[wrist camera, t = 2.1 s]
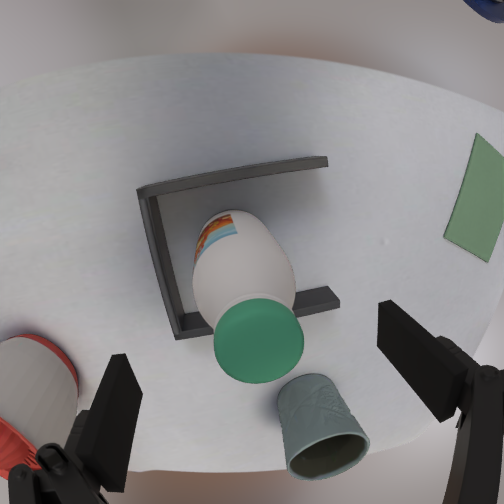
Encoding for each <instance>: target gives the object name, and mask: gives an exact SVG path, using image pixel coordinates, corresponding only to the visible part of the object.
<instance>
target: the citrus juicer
mask: <svg viewBox="0 0 504 504" xmlns="http://www.w3.org/2000/svg"><path fill="white" fill-rule="evenodd" d="M77 401H78V380H77V375H76V372H75V369H74V367H73V365H72V364H71V362H70V360H69V359H68V358H67V356H66V355H65V354H64V353H63V352H62V351H61V350H60V349H59V348H58V347H57V346H55V345H54V344H53V343H52V342H50V341H48V340H46V339H45V338H42V337H40V336H37V335H33V334H22V335H18V336H15V337H11V338H9V339H7V340H6V341H3V342H1V343H0V476H1V477H3V478H5V479H6V480H8V475H9V472H10V470H11V469H12V468H13V467H14V466H15V465H17V464H22V463H24V464H27V465H28V466H29V467H30V468H31V469H32V470H33V471H34V470H40V469H42V468H41V467H40V465H39V464H38V463H37V462H36V460H35V455H36V452H37V451H38V449H39V448H40V447H41V446H43V445H44V444H47V443H57V444H59V445H60V446H61V447H62V448H63V449H64V446H65V444H66V441H67V438H68V436H69V434H70V431H71V428H72V427H73V423H74V421H75V418H76V412H77Z"/></svg>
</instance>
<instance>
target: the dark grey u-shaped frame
mask: <svg viewBox="0 0 504 504" xmlns="http://www.w3.org/2000/svg"><path fill="white" fill-rule="evenodd" d="M322 167H328V160H327V156H313V157H305V158H297V159H289V160H282V161H275V162H268V163H261V164H255V165H249V166H242V167H236V168H231V169H225V170H219V171H214V172H208V173H203V174H198V175H193V176H188V177H183V178H178V179H173V180H168V181H164V182H159V183H154V184H150V185H146V186H143V187H141V188H138V189H136V191H137V196H138V200H139V205H140V210H141V214H142V219H143V223H144V227H145V232H146V236H147V240H148V244H149V248H150V252H151V256H152V260H153V264H154V268H155V272H156V276H157V279H158V283H159V287H160V290H161V294H162V297H163V301H164V304H165V308H166V311H167V315H168V318H169V321H170V324H171V328H172V331H173V334H174V337H175V340H181V339H188V338H194V337H200V336H206V335H212V334H214V329H213V328H212V327H211V326H210V325H209V324H208V323H207V322H206V321H205V319H204V318H203V317H202V315H201V313H200V312H194V313H188V314H184V310H183V307H182V303H181V299H180V296H179V292H178V288H177V284H176V280H175V276H174V272H173V268H172V264H171V260H170V256H169V252H168V247H167V243H166V239H165V234H164V230H163V225H162V221H161V216H160V211H159V207H158V202H157V197H156V196H158V195H162V194H167V193H172V192H177V191H182V190H186V189H192V188H197V187H202V186H207V185H212V184H218V183H223V182H229V181H235V180H241V179H246V178H253V177H259V176H265V175H271V174H278V173H285V172H292V171H299V170H306V169H314V168H322ZM336 308H340V300H339V298H338V297H337V296H336V295H335V294H334V293H333V291H332V290H331V289H330V288H329V287H328V286H325V287H321V288H316V289H312V290H307V291H302V292H298V293H295V299H294V304H293V307H292V311H293V312H294V315H295V317H296V318H298V317H302V316H307V315H311V314H315V313H320V312H324V311H328V310H332V309H336Z"/></svg>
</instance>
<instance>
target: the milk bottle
mask: <svg viewBox="0 0 504 504" xmlns="http://www.w3.org/2000/svg"><path fill="white" fill-rule="evenodd" d="M192 286H193V294H194V299H195V302H196V305H197V307H198V310H199V312H200V313H201V315H202V317H203V318H204V319H205V321H206V322H207V323H208V324H209V325H210V326H211V327H212V328H213V329H214V351H215V356H216V359H217V361H218V363H219V365H220V366H221V368H222V369H223V370H224V371H225V372H226V373H227V374H228V375H229V376H231V377H232V378H234V379H236V380H239V381H242V382H245V383H254V384H258V383H266V382H270V381H274V380H276V379H278V378H280V377H282V376H284V375H286V374H287V373H288V372H290V371H291V370H292V369H293V368H294V367H295V366H296V364H297V363H298V361H299V360H300V358H301V356H302V353H303V349H304V335H303V331H302V329H301V326H300V324H299V322H298V320H297V318H296V317H295V315H294V312H293V311H292V307H293V304H294V299H295V292H296V286H295V277H294V273H293V269H292V266H291V264H290V262H289V260H288V258H287V256H286V254H285V253H284V251H283V250H282V248H281V247H280V245H279V244H278V243H277V241H276V240H275V238H274V237H273V236H272V234H271V233H270V232H269V230H268V229H267V228H266V227H265V225H264V224H263V223H262V222H261V221H260V220H259V219H258V218H257V217H255V216H254V215H252V214H250V213H248V212H245V211H240V210H229V211H224V212H221V213H219V214H217V215H215V216H213V217H212V218H211V219H210V220H208V221H207V223H206V224H205V225H204V226H203V228H202V230H201V232H200V234H199V237H198V241H197V247H196V253H195V260H194V267H193V284H192Z"/></svg>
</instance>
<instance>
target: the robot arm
mask: <svg viewBox="0 0 504 504" xmlns="http://www.w3.org/2000/svg"><path fill="white" fill-rule="evenodd" d="M490 1H492V2H495V3H503V2H504V0H490ZM377 347H378V348H379V349H380V350H381V351H382V353H383V354H384V355H385V356H386V357H387V359H388V360H389V361H390V362H391V363H392V365H393V366H394V367H395V368H396V369H397V371H398V372H399V373H400V374H401V375H402V377H403V378H404V379H405V380H406V382H407V383H408V384H409V385H410V386H411V388H412V389H413V390H414V391H415V393H416V394H417V395H418V396H419V398H420V399H421V400H422V401H423V402H424V404H425V405H426V406H427V407H428V409H429V410H430V411H431V412H432V414H433V415H434V416H435V417H436V419H437V420H438V421H439V422H440V423H441V422H443V421H445V420H447V419H449V418H451V417H453V416H454V414H455V411H456V408H457V407H458V408H459V409H460V410H461V411H462V412H461V415H460V417H459V420H458V422H457V425H456V428H458V433H457V440H456V445H455V451H454V456H453V462H452V467H451V472H450V476H449V480H448V484H447V489H446V492H445V496H444V500H443V503H442V504H497V498H498V491H499V483H500V475H501V464H502V463H501V462H502V448H503V435H504V370H498V369H497V368H495V367H493V366H489V365H483V366H480V365H479V364H478V363H476V361H474V360H473V359H472V358H471V357H470V356H469V355H468V354H466V353H465V352H464V351H462V349H461V348H460V347H458V346H457V345H456V344H455V343H454V342H453V341H451V340H450V339H448V338H445V337H443V336H439V337H436V338H435V337H434V336H432V335H431V334H430V333H429V332H428V331H427V330H426V329H425V328H423V327H422V326H421V325H420V324H419V323H418V322H416V321H415V320H414V319H413V318H412V317H411V316H410V315H408V314H407V313H406V312H405V311H404V310H403V309H401V308H400V307H399V306H398V305H397V304H395V303H394V302H393V301H392V300H387V301H384V302H380V303H378V335H377ZM142 395H143V393H142V391H141V388H140V386H139V384H138V382H137V380H136V377H135V375H134V373H133V370H132V368H131V366H130V363H129V361H128V359H127V356H126V354H125V353H124V354H116V355H112V356H111V359H110V361H109V363H108V366H107V368H106V370H105V373H104V375H103V378H102V380H101V383H100V385H99V388H98V390H97V393H96V395H95V398H94V400H93V403H92V405H91V408H90V410H82V411H81V412H80V413H79V415H78V416H77V417H76V418H75V421H74V423H73V427H72V428H71V431H70V434H69V436H68V438H67V441H66V444H65V446H64V449H63V448H62V447H61V446H60V445H59V444H57V443H47V444H44V445H43V446H41V447H40V448H39V449H38V451H37V452H36V455H35V460H36V462H37V463H38V464H39V465H40V467H41V468H42V469H40V470H34V471H33V470H32V469H31V468H30V467H29V466H28V465H27V464H24V463H22V464H17V465H15V466H14V467H13V468H12V469H11V470H10V472H9V475H8V488H9V503H10V504H109V503H108V502H107V500H106V499H105V498H104V496H103V495H102V494H101V493H100V487H101V485H102V486H103V487H104V488H105V490H106V491H107V492H121V493H123V492H124V488H125V482H126V476H127V470H128V465H129V459H130V454H131V448H132V443H133V438H134V433H135V428H136V423H137V418H138V414H139V409H140V404H141V400H142Z"/></svg>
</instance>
